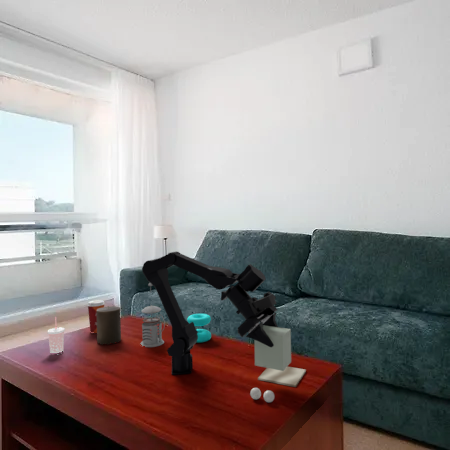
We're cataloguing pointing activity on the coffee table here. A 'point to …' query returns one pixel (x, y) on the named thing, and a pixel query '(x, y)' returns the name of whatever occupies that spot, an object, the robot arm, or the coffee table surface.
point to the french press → (152, 327)
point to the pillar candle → (108, 325)
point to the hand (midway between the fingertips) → (277, 342)
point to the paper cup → (94, 313)
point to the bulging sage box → (274, 349)
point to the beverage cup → (56, 338)
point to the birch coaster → (283, 376)
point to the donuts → (201, 321)
